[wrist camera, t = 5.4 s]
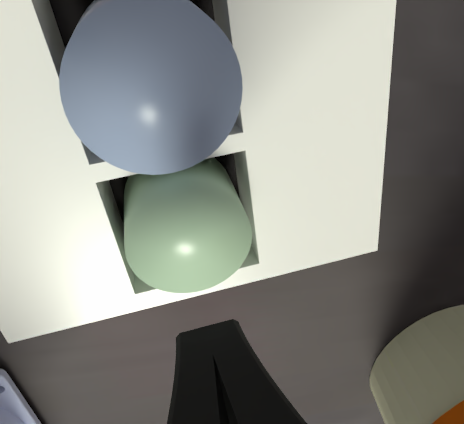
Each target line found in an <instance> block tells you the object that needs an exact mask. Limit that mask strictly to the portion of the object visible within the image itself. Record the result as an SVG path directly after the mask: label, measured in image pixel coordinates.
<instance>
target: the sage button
mask: <svg viewBox="0 0 464 424" xmlns="http://www.w3.org/2000/svg"><path fill="white" fill-rule="evenodd" d="M251 243H252V229H251V224H250V221H249V219H248V216H247V214H246V212H245V210H244V207H243V205H242V203H241V201H240V199H239V197H238V195H237V192H236V190H235V188H234V186H233V184H232V182H231V179H230V177H229V175H228V173H227V171H226V170H225V168H224V167H223V166H222V164H221V163H220V162H219V161H218V160H217V159H215V158H214V157H213V158H208V159H204V160H203V161H201V162H200V163H198V164H196V165H194V166H192V167H190V168H187V169H185V170H182V171H178V172H174V173H169V174H161V175H147V174H134V175H130V176H129V177H128V179H127V182H126V185H125V189H124V248H125V256H126V259H127V262H128V264H129V266H130V268H131V269H132V271H133V272H134V273H135V275H136V276H137V277H138V278H139V279H141V280H142V281H143V282H145V283H146V284H148V285H149V286H151V287H154V288H156V289H159V290H162V291H166V292H171V293H192V292H198V291H202V290H205V289H209V288H211V287H214V286H216V285H218V284H220V283H221V282H223V281H225V280H226V279H228V278H229V277H230V276H231V275H233V274H234V273H235V272H236V271H237V270H238V269H239V268H240V266H241V265H242V264H243V262H244V261H245V259H246V257H247V255H248V253H249V250H250V247H251Z"/></svg>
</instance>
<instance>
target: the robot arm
mask: <svg viewBox="0 0 464 424" xmlns="http://www.w3.org/2000/svg"><path fill="white" fill-rule="evenodd" d="M0 424H41V422H40V421H39V419H38V418H37V416H36V415H35V413H34V412H33V410H32V409H31V408H30V406H29V405H28V403H27V402H26V400H25V399H24V397H23V396H22V394H21V393H20V391H19V390H18V388H17V387H16V385H15V384H14V382H13V381H12V379H11V378H10V376H9V375H8V373H7V372H6V371H5V370H3V369H0ZM167 424H307V423H306V422H305V421H304V419H303V418H302V417H301V416H300V414H299V413H298V412H297V411H296V409H295V408H294V407H293V406H292V404H291V403H290V402H289V401H288V399H287V398H286V397H285V395H284V394H283V393H282V391H281V390H280V389H279V387H278V386H277V385H276V383H275V382H274V380H273V379H272V378H271V376H270V375H269V373H268V372H267V371H266V369H265V368H264V366H263V365H262V363H261V362H260V360H259V359H258V357H257V355H256V354H255V352H254V351H253V349H252V347H251V346H250V344H249V342H248V341H247V339H246V337H245V335H244V333H243V331H242V329H241V327H240V325H239V322H238V321H236V320H234V319H232V320H228V321H224V322H220V323H217V324H213V325H209V326H205V327H201V328H198V329H194V330H190V331H186V332H182V333H180V334H179V335H178V336H177V337H176V364H175V375H174V383H173V391H172V398H171V404H170V410H169V415H168V421H167Z"/></svg>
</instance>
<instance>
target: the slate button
mask: <svg viewBox="0 0 464 424" xmlns="http://www.w3.org/2000/svg"><path fill="white" fill-rule="evenodd" d="M59 89H60V96H61V102H62V105H63V109H64V112H65V115H66V117H67V119H68V121H69V124H70V125H71V127H72V129H73V130H74V132H75V134H76V135H77V136H78V137H79V139H80V140H81V141H82V143H83V144H84V145H85V146H86V147H87V148H88V149H89V150H90V151H92V152H93V153H94V154H95V155H97V156H98V157H99V158H101V159H102V160H104V161H106V162H107V163H109V164H111V165H113V166H115V167H118V168H120V169H123V170H126V171H129V172H133V173H139V174H147V175H161V174H169V173H174V172H178V171H182V170H185V169H187V168H190V167H192V166H194V165H196V164H198V163H200V162H201V161H203V160H204V159H206V158H207V157H208V156H210V155H211V154H212V153H213V152H214V151H215V150H217V149H218V148H219V147H220V145H221V144H222V143H223V142H224V141H225V139H226V138H227V136H228V135H229V133H230V132H231V130H232V128H233V126H234V124H235V122H236V119H237V117H238V114H239V111H240V106H241V101H242V90H243V87H242V74H241V69H240V64H239V61H238V58H237V55H236V53H235V51H234V48H233V46H232V44H231V42H230V41H229V39H228V38H227V36H226V35H225V33H224V32H223V31H222V30H221V28H220V27H219V26H218V25H217V24H216V23H215V22H214V21H213V20H212V19H211V18H210V17H209V16H208V15H206V14H205V13H204V12H203V11H202V10H201V9H200V8H198V7H197V6H196V5H195V4H194V3H193V2H191V1H190V0H94V1H93V2H92V3H91V4H90V5H89V6H88V8H87V9H86V10H85V12H84V13H83V15H82V16H81V18H80V20H79V22H78V24H77V26H76V28H75V30H74V32H73V34H72V36H71V38H70V40H69V42H68V45H67V47H66V49H65V51H64V55H63V58H62V62H61V67H60V74H59Z"/></svg>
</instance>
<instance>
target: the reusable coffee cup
mask: <svg viewBox="0 0 464 424" xmlns="http://www.w3.org/2000/svg"><path fill="white" fill-rule="evenodd" d="M370 388H371V390H372V393H373V395H374V398H375V400H376V403H377V405H378V408H379V410H380V413H381V415H382V417H383V420H384V422H385V424H464V305H459V306H454V307H449V308H446V309H443V310H440V311H437V312H435V313H432V314H430V315H428V316H426V317H424V318H422V319H420V320H418V321H417V322H415V323H414V324H412V325H410V326H409V327H407V328H406V329H405V330H403V331H402V332H401V333H400V334H398V335H397V336H396V337H395V338H394V339H393V340H392V341H391V342H390V343H389V344H388V345H387V346H386V347H385V348H384V349H383V351H382V352H381V353H380V355H379V356H378V357H377V359H376V361H375V363H374V365H373V367H372V370H371V374H370Z"/></svg>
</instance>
